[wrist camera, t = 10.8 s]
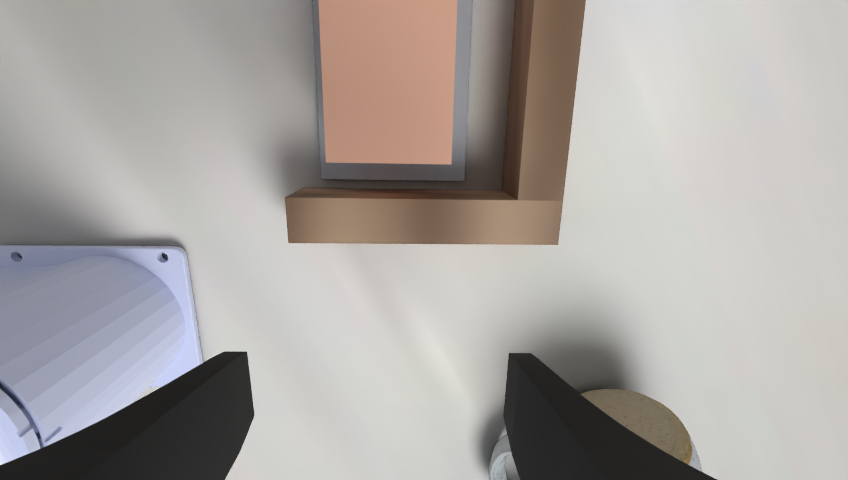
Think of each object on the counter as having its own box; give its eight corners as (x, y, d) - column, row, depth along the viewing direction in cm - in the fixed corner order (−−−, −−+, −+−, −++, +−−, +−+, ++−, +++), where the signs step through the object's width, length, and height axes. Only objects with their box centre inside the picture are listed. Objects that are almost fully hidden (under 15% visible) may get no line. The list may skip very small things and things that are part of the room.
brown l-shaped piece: (305, 226, 20) (288, 242, 17) (280, -159, 16) (252, -223, 13) (536, 228, 21) (557, 244, 18) (573, -144, 16) (608, -203, 14)
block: (340, -38, 17) (313, -106, 12) (446, -34, 17) (460, -99, 12) (346, 154, 19) (325, 162, 14) (440, 156, 19) (451, 164, 14)
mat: (322, 178, 20) (321, 179, 19) (311, -57, 17) (308, -62, 16) (463, 180, 20) (464, 180, 19) (473, -51, 17) (475, -55, 17)
